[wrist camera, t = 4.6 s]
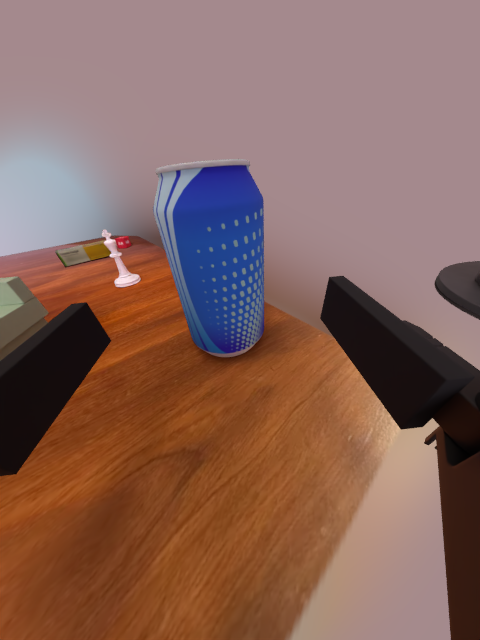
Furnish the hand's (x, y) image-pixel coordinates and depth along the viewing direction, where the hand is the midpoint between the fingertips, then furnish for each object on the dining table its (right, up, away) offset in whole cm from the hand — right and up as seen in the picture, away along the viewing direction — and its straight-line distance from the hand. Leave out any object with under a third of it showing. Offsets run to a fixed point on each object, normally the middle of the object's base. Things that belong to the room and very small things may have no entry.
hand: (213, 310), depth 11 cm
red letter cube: (-38, +25, +54) cm, 71 cm away
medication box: (-42, +16, +44) cm, 63 cm away
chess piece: (-22, +7, +29) cm, 36 cm away
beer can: (0, -3, +12) cm, 12 cm away
